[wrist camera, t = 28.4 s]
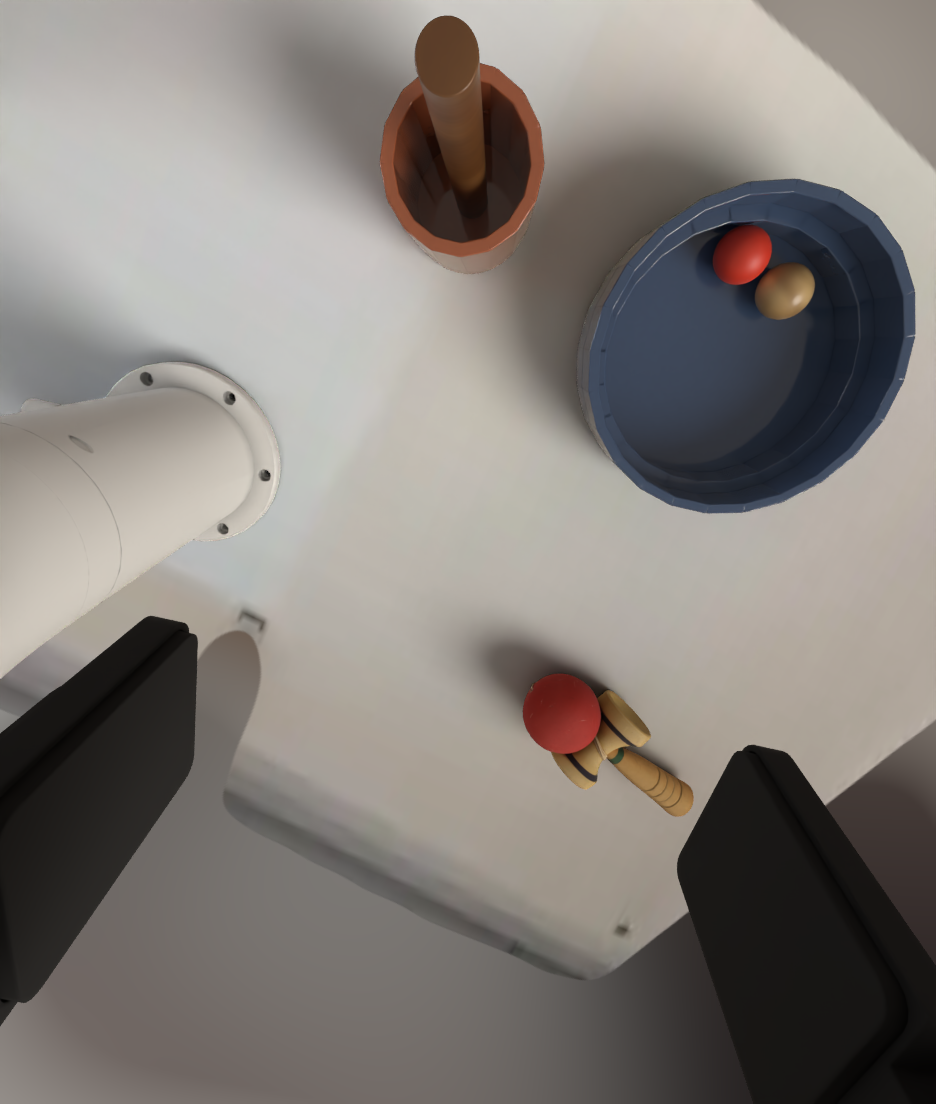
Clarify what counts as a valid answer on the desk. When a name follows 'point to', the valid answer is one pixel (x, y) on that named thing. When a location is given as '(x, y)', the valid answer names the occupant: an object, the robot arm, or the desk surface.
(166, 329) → the desk surface
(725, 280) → the red bead
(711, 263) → the bowl
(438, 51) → the stick
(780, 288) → the beech bead
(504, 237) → the holder
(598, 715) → the kendama
